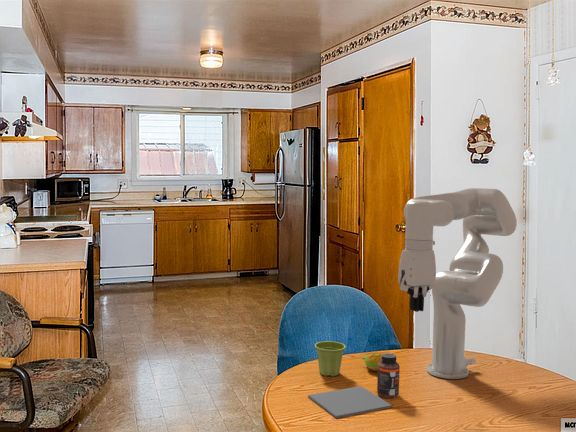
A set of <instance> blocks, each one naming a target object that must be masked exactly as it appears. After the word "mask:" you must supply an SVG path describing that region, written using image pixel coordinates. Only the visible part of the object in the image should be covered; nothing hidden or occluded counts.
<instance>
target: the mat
mask: <svg viewBox="0 0 576 432" xmlns="http://www.w3.org/2000/svg"><path fill="white" fill-rule="evenodd" d="M307 395H308V396H307V397H308V399H309V400H311V401H312V402H314V403H315V404H316V403H317V406H319V407H320V408H322V409H323V410H324V409H325V410H324V411H326V412H327V413H328V414H330V415H331V416H332V417H333V418H335V419H340V418H344V417H350V416H355V415H356V416H357V415H360V414H364V413H369V412H375V411H380V410H386V409H390V408H393V405H392V404H391V403H389V402H387V401H386V400H384V398H383V399H382V397H380V396H379V395H376V394H374V393H373V392H371V391H370V390H368V389H366V388H365V387H363V386H362V385H359V386H354V387H349V388H342V389H335V390H331V391H330V390H329V391H324V392H318V393H313V394H307Z"/></svg>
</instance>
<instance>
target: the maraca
mask: <svg viewBox="0 0 576 432" xmlns="http://www.w3.org/2000/svg"><path fill="white" fill-rule="evenodd" d="M381 358H382V354H381V352H371V353H369V354H368V355H367V354H366V355H365V356H362V360H364V361H363V362H364V364H365V365H366V367H367V368H368V369H369V370H371V371H374V372H378V364H379V362H381V361H382V359H381Z"/></svg>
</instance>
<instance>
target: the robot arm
mask: <svg viewBox="0 0 576 432" xmlns="http://www.w3.org/2000/svg"><path fill="white" fill-rule="evenodd" d="M403 216H404V217H403V218H404V219H405V232H404V233H405V235H404V236H405V237H404V239H405V240H404V249H402V251H401V254H400V258H399V265H398V273H397V275H398V276H397V277H398V278H397V280H398V281H397V282H398V284H399V285H400V286H399V290H401V291H404V292H406V293H407V296H409V310H411V311H413V312H416V313H417V312H424V308H425V307H424V306H425V297H427V293H428V292H429V291H430V290H431V294H432V295H431V296H432V301H433V303H432V304H433V320H432V321H433V322H432V323H433V324H432V325H433V327H432V328H433V329H432V352H431V353H432V355H431V363H430V364H428V365H426V372H427V373H428V374H430V375H431V376H434V377H437V378H441V379H447V380H462V379H465V378H467V377H469V375H470V370H469V369H468V368H467V367H468V366H469V365H474V364H476V359H475V358H474V357H469V358H467V357H466V356H465V344H466V343H465V342H466V341H465V339H466V338H465V337H466V315H465V312H464V310H463V307H462V306H461V305H463V306H469V307H474V308H475V307H476V308H481V307H484V306H485V305H487V303H488V302H489V301H490V299H491V297H492V296H493V294H494V293H495V290H496V289H497V287H498V286H499V284H500V282H501V280H502V277H503V273H504V263H503V260H502V259H501V257H500V256H498V255H497V254H494V253H490V248H489V245H488V243H487V242H486V240H485V238H483V237H482V235H488V236H499V237H508V236H509V237H510V236H512V235H513V234H514V233H515V231H516V229H517V217H516V213H515V212H514V209H513V208H512V205H511V204H510V201H509V199H508V198H507V196H506V195H505V194H504V192H502V191H501V190H499V189H497V188H475V187H473V188H471V187H470V188H467V189H466V188H465V189H462V190H458V191H457V190H456V191H454V192H446V193H439V194H431V195H423V196H418V197H417V196H416V197H413V198H410V199H409V200H408V201H407V202H406V203H405V205H404V209H403ZM459 220H462V233H463V235H462V236H463V238H462V239H463V243H462V245H461V247H459V249H458V250H457V252H456V253H455V255H454V257H453V258H452V259H451V262H450V264H449V270H442V271H438V272H437V265H436V254H435V250H433V248H434V247H433V246H435V245H436V241H435V240H434V227H446V226H448V225H450V224H451V223H452V222H453V221H459Z"/></svg>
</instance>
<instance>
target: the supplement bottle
mask: <svg viewBox="0 0 576 432" xmlns="http://www.w3.org/2000/svg"><path fill="white" fill-rule="evenodd" d="M381 359H382V361H381V362H379V364H378V371H377V379H376V380H377V382H376V383H377V385H376V386H377V387H376V391H377V392H376V393H377V396H378V397H379V398H383V399H395V398H397V397H398V396H399V394H400V364H399V363H398V362H397V355H396V354H394V353H383V354H382V358H381Z"/></svg>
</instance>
